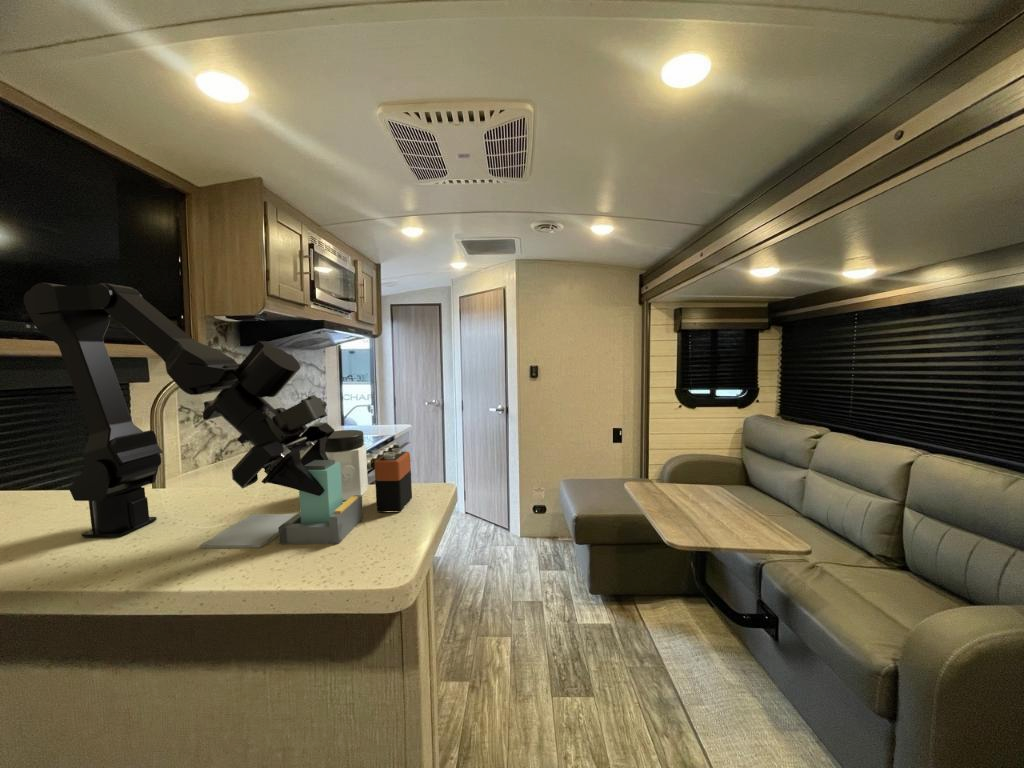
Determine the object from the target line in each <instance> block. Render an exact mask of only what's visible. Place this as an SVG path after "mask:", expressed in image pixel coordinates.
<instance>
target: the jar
mask: <svg viewBox="0 0 1024 768" xmlns="http://www.w3.org/2000/svg"><path fill="white" fill-rule="evenodd" d="M364 439H365V437H364V432H363V431H361V430H357V429H343V430H334V432H333V433H332V434H331V435H330V436H329V437H328V438H327V441H326V442H325V453H326V455H327V457H328V459H329V460H335V463H340V466H341V484H342V502H345V501H347V500H348V499H349V498H350V497H351V496H354V495H362V496H363V495H364V494H365V493H366V492H367V490H368V489H369V481H368V480H369V479H368V465H367V462H368V460H367V445H366V443H365V441H364ZM365 486H368V487H365ZM367 488H368V489H367Z"/></svg>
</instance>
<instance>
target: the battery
mask: <svg viewBox="0 0 1024 768" xmlns="http://www.w3.org/2000/svg"><path fill="white" fill-rule="evenodd" d="M411 464H412V463H411V453H410V452H409V451H401V448H399V447H398V448H397V447H396V448H392V449H391V451H387V452H384V453H383V455H382V456H380V457H379V458H377V459H376V460H375V461H374V463H373V465H374V482H375V501H376V511H377V512H378V511H400V512H401V511H402V510H403V509H404V508H405V507H406V506H407V504H409V502H410V501H411V500H410V499H413V494H412V493H413V489H412V487H413V486H412V471H411V470H412V467H411ZM405 505H406V506H405ZM404 506H405V507H404Z"/></svg>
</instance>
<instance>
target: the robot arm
mask: <svg viewBox="0 0 1024 768" xmlns="http://www.w3.org/2000/svg"><path fill="white" fill-rule="evenodd" d="M23 305H24V307H25V309H26V312H27V314H28V316H29V317H30V319H31V321H32V322H33V325H34V326H35V328H36V329H37V330H38V331H39V332H41V333H42V334H44V335H45V336H46V337H47V338H49V339H50V340H51V341H53V342H54V343H55V344H56V345H57V346H58V349H59V351H60V354H61V357H62V359H63V362H64V366H65V368H66V371H67V373H68V376H69V379H70V382H71V384H72V387H73V390H74V392H75V395H76V399H77V400H78V403H79V406H80V409H81V412H82V414H83V417H84V420H85V423H86V425H87V427H88V431H89V437H88V440H87V442H86V445H85V447H84V450H83V452H82V459H83V463H84V466H85V467H84V469H83V471H82V472H81V473H80V474H79V475H78V477H77V478H76V479H75V480H74V481H73V482H72V484H71V485H70V486H69V488H68V489H69V493H70V494H71V497H72V499H73V501H76V502H78V501H79V502H88V506H89V515H90V526H91V529H89V530H87V531H84V532H81V533H80V537H82V538H93V537H94V538H109V537H111V538H117V537H122V536H125V535H127V534H130V533H131V532H133V531H136V530H138V529H139V528H142V527H144V526H147V525H148V524H151V523H153V522H155V521H157V520H158V519H157V516H150V514H149V513H150V512H149V504H148V502H149V501H148V497H147V496H146V491H145V487H144V486H147V485H152V484H154V483H156V478H157V475H158V471H159V467H160V466H161V464H162V457H161V454H163V452H164V451H163V450H162V448H161V447H160V445H159V444H158V441H157V435H156V433H155V432H154V430H152V429H150V430H145V431H143V430H142V429H140V427H138V426H137V425H135V423H134V421H133V420H132V417H131V414H130V411H129V409H128V406H127V404H126V399H125V397H124V394H123V392H122V389H121V387H120V383H119V380H118V378H117V375H116V372H115V369H114V366H113V364H112V361H111V359H110V358H111V357H110V356H109V353H108V350H107V347H106V345H105V341H104V337H105V335H106V333H107V331H108V328H109V325H110V324H111V323H110V322H111V320H110V317H111V318H113V319H114V320H115V321H116V322H117V323H119V324H120V325H121V326H122V327H123V328H125V329H126V330H127V331H128V332H129V333H130V334H132V335H133V336H134V337H136V338H137V339H138V340H139V341H141V343H143V344H144V345H145V346H147V348H149V349H150V350H151V351H153V352H154V353H155V354H156V355H157V356H158V357H160V358H161V360H162V361H163V362H164V364H165V370H166V373H167V375H168V376H169V377H170V379H171V380H172V381H173V382H174V383H175V384H176V386H178V388H179V389H181V391H183V393H185V394H187V395H191V396H193V395H194V396H195V395H196V396H197V395H206V394H214V393H218V394H217V395H216V396H215V397H214V399H212V400H208V401H204V402H203V405H204V406H203V407H204V409H203V411H202V419H203V420H205V421H208V420H212V419H216V418H220V417H222V419H224V420H225V421H226V422H227V423H228V424H229V425H231V426H232V428H234V429H235V430H236V431H237V433H239V434H240V435H239V436H238V438H236V439H237V441H238V442H239V443H241V444H242V445H244V444H247V443H249V444H251V445H252V446H251V448H250V450H249V451H247V453H246V454H245V455H244V456H243V457H242V458H241V459H240V460H239V461H238V462H237V463H236V465H235V466H234V467H233V468H232V469H231V477H232V481H233V482H235V484H237V485H238V486H239V487H240V488H241V489H245V488H247V487H249V486H252V485H254V484H255V483H257V481H258V480H259V477H258V474H259V473H260V471H261V470H262V469H264V471H263V472H264V473H265V475H266V476H265V477H264V478H263V479H262V480H261V483H262V484H273V485H276V486H280V487H281V486H282V487H286V488H289V489H293V490H297V491H299V490H300V491H303V492H307V493H310V494H314V495H317V496H320V495H321V494H322V493H323V492H324V489H323V487H322V486H321V485H320V483H319V482H318V481H317V480H316V479H315V478H314V476H313V475H312V474H311V473H310V472H309V471H308V470H307V469H306V467H305V465H306V464H308V463H310V462H312V461H314V460H329V459H328V457H327V455H326V453H325V442H326V441H327V438H328V437H329V436H330V435H331V434H332V433H333V432H334V431H335V429H334V428H333V427H332V426H331V425H330V424H329V423H328V422H318V423H316V424H313V425H309V424H311V423H312V422H315V421H317V420H319V419H323V418H325V417H327V416H328V414H327V412H326V408H327V405H328V404H327V402H326V401H323V399H322V398H321V397H318V396H316V395H315V394H313V395H309V396H307V398H303V399H301V401H300V402H299V403H297V404H295V405H293V406H291V407H289V408H287V409H286V408H284V407H278V408H274V407H273V405H271V404H270V403H269V402H268V401H267V400H266V399H265V398H266V397H267V398H275V397H276V396H278V394H280V392H281V391H282V390H283V389H284V388H285V387H286V385H288V383H289V382H290V381H291V380H292V378H293V377H294V376H295V375H296V374H297V373H298V372H299V371H300V369H301V365H300V362H299V361H298V360H297V358H295V356H293V355H292V354H290V353H288V352H286V351H285V350H283V349H281V348H279V347H277V346H274V345H272V344H271V343H270V342H269V341H264V340H263V341H261V340H259V341H257V342H256V343H255V344H254V345H253V347H252V349H251V351H250V352H249V353H248V355H247V356H246V357H245V358H244V359H243V361H241V363H238V362H237V361H236V360H235V359H234V358H232V357H230V356H229V355H227V354H225V352H222V351H220V350H219V349H217V348H214V347H212V346H209V345H206V344H203V343H201V342H199V341H197V340H195V339H193V338H192V336H190V335H188V334H187V333H186V332H185V331H184V330H183V329H182V328H180V327H179V326H177V325H176V324H175V323H174V322H173V321H171V320H170V319H169V318H168V317H167V316H166V315H164V314H163V313H162V312H161V311H160V310H158V309H157V308H156V307H155V306H153V305H152V304H151V303H150V302H148V301H147V300H146V299H145V298H144V297H143V295H142V293H141V292H140V291H139V290H137V289H136V288H134V287H131V286H125V285H120V284H118V285H117V284H112V283H105V282H104V283H95V284H88V285H64V284H56V283H49V282H39V283H36V284H35V285H33V286H32V287H31V288H30V289H29V290H27V291H26V292H25V293H24V296H23ZM307 425H309V426H307Z"/></svg>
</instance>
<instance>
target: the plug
mask: <svg viewBox="0 0 1024 768" xmlns="http://www.w3.org/2000/svg"><path fill="white" fill-rule="evenodd" d="M305 467H306V469H307V470H308V471H309V472H310V473H311V474H312V475H313V476H314V478H315V479H316V480H317V481H318V482H319V483H320V485H321V486H322V487H323V489H324V492H323V493H322V494H321V495H320V496H317V495H314V494H310V493H307V492H303V491H300V490H298V493H299V496H298V497H299V512H300V513H301V524H324V523H329V517H330V516H331V515H332V514H333V513H334V511H335V510H336V509H337V508H338V507H340V506H341V505H342V504H343V503H344V502H343V501H342V484H341V466H340V463H335V460H314V461H312V462H310V463H308V464H306V465H305Z"/></svg>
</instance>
